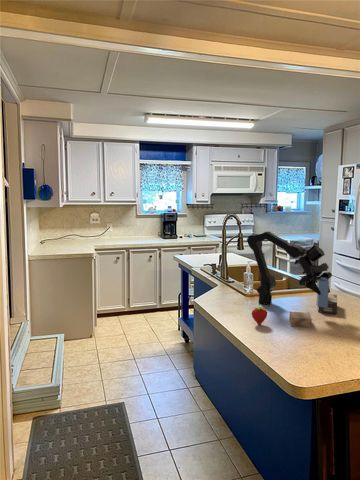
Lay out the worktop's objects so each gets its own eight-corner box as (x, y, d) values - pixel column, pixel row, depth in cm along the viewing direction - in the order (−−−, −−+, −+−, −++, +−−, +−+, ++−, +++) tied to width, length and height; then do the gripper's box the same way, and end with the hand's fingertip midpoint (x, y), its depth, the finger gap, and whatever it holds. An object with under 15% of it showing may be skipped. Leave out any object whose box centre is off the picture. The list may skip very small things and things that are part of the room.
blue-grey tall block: (317, 306, 179) (319, 278, 177) (316, 304, 183) (317, 276, 181) (327, 307, 178) (329, 279, 176) (325, 304, 182) (327, 277, 180)
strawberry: (249, 323, 174) (249, 302, 173) (263, 321, 176) (264, 301, 174) (254, 327, 168) (255, 306, 167) (269, 326, 170) (270, 305, 169)
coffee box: (318, 303, 205) (317, 312, 190) (319, 292, 204) (318, 300, 189) (336, 305, 201) (336, 314, 186) (337, 294, 200) (337, 302, 186)
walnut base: (290, 325, 170) (291, 317, 170) (289, 319, 179) (289, 311, 179) (311, 327, 169) (311, 319, 168) (308, 320, 177) (309, 312, 177)
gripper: (304, 259, 176) (322, 287, 168) (330, 256, 185) (348, 282, 177) (291, 272, 184) (307, 299, 176) (316, 268, 193) (333, 294, 185)
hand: (324, 293), depth 178 cm, fingers closed on blue-grey tall block, 6 cm apart
